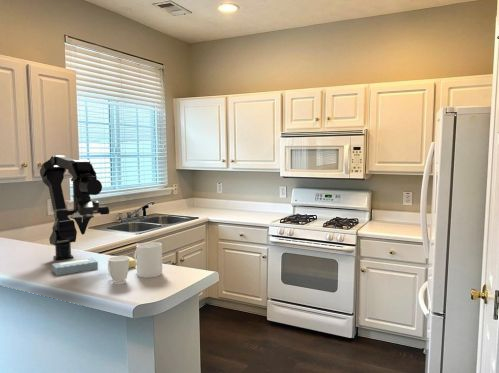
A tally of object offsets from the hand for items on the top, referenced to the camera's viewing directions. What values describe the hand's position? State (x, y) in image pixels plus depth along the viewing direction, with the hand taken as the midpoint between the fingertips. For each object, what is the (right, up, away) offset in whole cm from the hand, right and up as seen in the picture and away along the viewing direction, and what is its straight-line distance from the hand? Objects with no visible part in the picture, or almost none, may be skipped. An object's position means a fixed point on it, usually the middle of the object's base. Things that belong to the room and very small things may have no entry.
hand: (82, 234), depth 147 cm
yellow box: (+16, -12, -2) cm, 20 cm away
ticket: (-1, -12, -5) cm, 13 cm away
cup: (+19, -14, -18) cm, 30 cm away
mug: (+27, -13, -10) cm, 32 cm away
